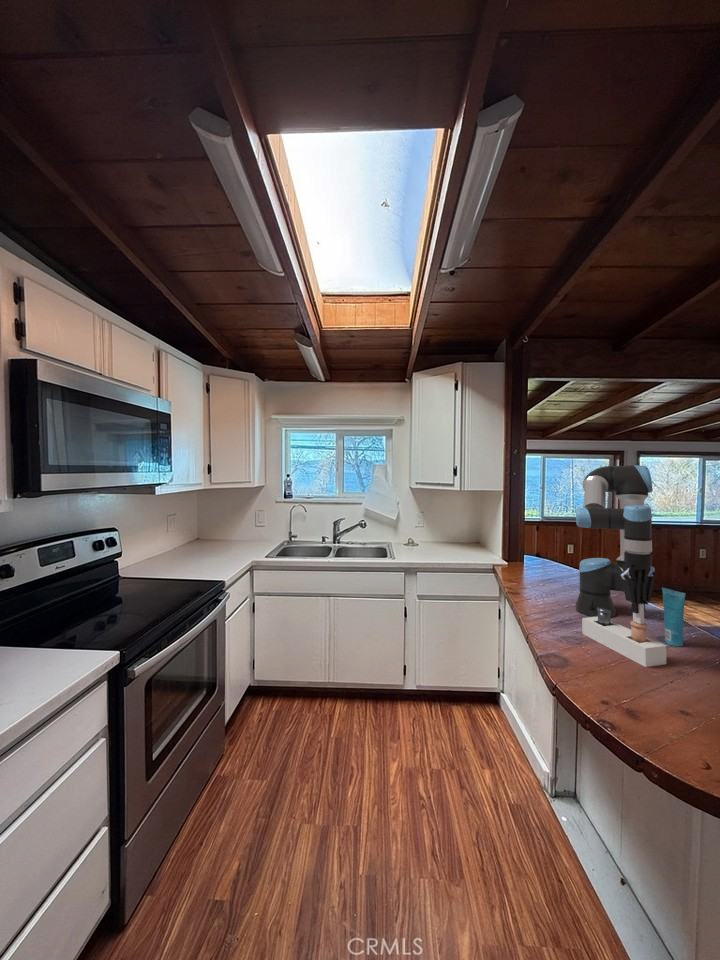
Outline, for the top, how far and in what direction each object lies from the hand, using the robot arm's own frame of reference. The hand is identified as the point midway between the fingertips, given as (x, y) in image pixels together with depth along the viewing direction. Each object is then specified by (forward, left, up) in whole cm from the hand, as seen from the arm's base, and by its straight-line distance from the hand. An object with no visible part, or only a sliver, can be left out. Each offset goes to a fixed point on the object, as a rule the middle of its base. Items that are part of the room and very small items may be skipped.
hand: (638, 622), depth 127 cm
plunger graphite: (0, -14, -8) cm, 16 cm away
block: (0, -7, -12) cm, 14 cm away
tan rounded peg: (0, 0, -8) cm, 8 cm away
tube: (-21, -5, -12) cm, 24 cm away
